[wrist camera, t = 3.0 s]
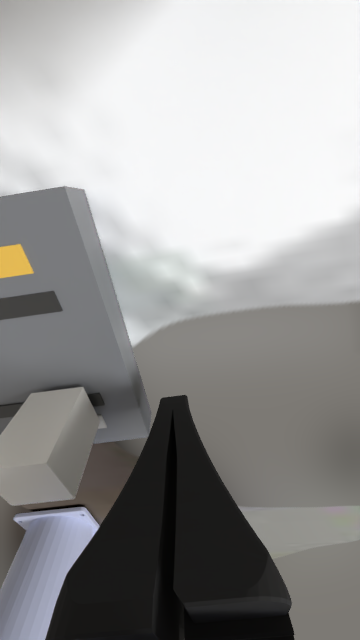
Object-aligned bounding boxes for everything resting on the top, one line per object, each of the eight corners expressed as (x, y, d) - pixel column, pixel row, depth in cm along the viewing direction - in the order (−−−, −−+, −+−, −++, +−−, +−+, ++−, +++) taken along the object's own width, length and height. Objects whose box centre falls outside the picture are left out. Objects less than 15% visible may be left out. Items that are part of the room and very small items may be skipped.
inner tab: (100, 421, 13) (74, 498, 10) (53, 426, 13) (11, 505, 10) (83, 386, 12) (46, 463, 8) (31, 393, 12) (-27, 471, 9)
